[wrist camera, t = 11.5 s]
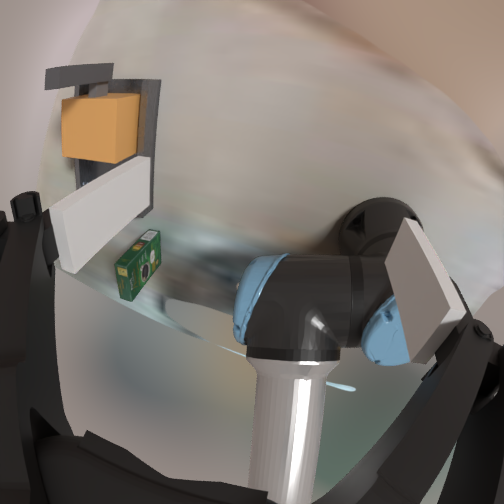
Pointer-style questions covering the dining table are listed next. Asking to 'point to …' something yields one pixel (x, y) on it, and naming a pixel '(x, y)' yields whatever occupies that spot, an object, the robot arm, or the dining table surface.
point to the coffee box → (138, 265)
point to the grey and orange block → (96, 114)
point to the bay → (146, 131)
